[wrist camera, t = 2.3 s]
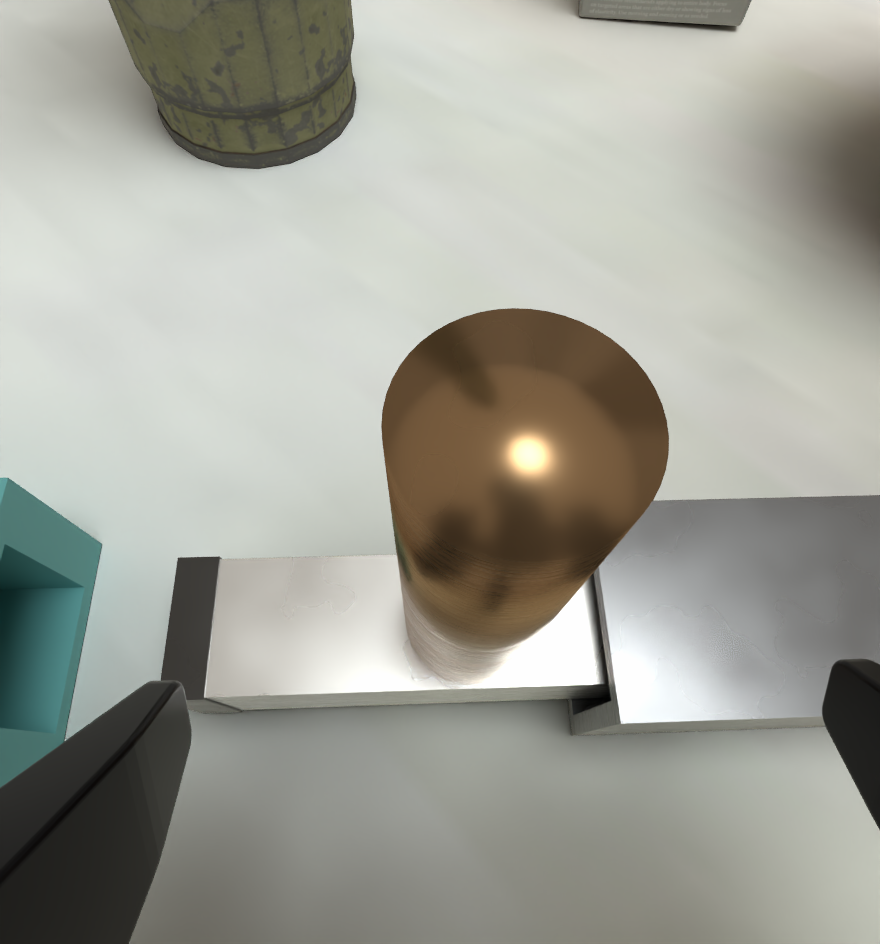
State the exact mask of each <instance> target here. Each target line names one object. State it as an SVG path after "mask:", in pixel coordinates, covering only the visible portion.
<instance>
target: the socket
mask: <svg viewBox="0 0 880 944" xmlns="http://www.w3.org/2000/svg"><path fill="white" fill-rule="evenodd" d="M101 546H102V544H101V543H100V542H98V541H97V540H95V539H94V538H93V537H91V536H90V535H88V534H87V533H85V532H84V531H83V530H81V529H80V528H78V527H77V526H76V525H74V524H73V523H71V522H70V521H69V520H67V519H66V518H64V517H63V516H61V515H60V514H59V513H57V512H56V511H54V510H53V509H52V508H50V507H49V506H47V505H46V504H44V503H43V502H42V501H40V500H39V499H37V498H36V497H35V496H33V495H32V494H30V493H29V492H27V491H26V490H25V489H23V488H22V487H20V486H19V485H18V484H16V483H15V482H13V481H12V480H10V479H9V478H0V787H2V786H3V785H4V784H6V783H7V782H9V781H10V780H11V779H13V778H14V777H16V776H17V775H18V774H20V773H21V772H23V771H24V770H25V769H27V768H28V767H30V766H31V765H32V764H34V763H35V762H37V761H38V760H39V759H41V758H42V757H44V756H45V755H46V754H48V753H49V752H51V751H52V750H53V749H55V748H56V747H58V746H59V745H60V744H62V743H63V742H64V737H65V732H66V726H67V721H68V716H69V711H70V706H71V701H72V696H73V690H74V685H75V680H76V675H77V670H78V665H79V660H80V654H81V649H82V644H83V639H84V634H85V629H86V623H87V618H88V613H89V608H90V603H91V598H92V593H93V587H94V582H95V577H96V572H97V567H98V562H99V557H100V551H101Z"/></svg>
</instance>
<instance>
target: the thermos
mask: <svg viewBox="0 0 880 944" xmlns="http://www.w3.org/2000/svg"><path fill="white" fill-rule="evenodd" d="M109 3H110V5H111V8H112V10H113V13H114V15H115V17H116V20H117V22H118V25H119V27H120V30H121V32H122V34H123V37H124V39H125V42H126V44H127V47H128V49H129V52H130V54H131V56H132V59H133V61H134V64H135V66H136V68H137V69H138V71H139V72H140V73H141V75H142V76H143V78H144V79H145V81H146V82H147V84H148V85H149V86H150V87H151V90H152V92H153V95H154V97H155V100H156V102H157V106H158V112H159V115H160V117H161V120H162V122H163V125H164V126H165V128H166V129H167V131H168V132H169V134H170V135H171V137H172V138H173V140H174V141H175V142H176V144H178V145H179V146H181V147H182V148H184V149H185V150H187V151H188V152H190V153H191V154H193V155H194V156H196V157H197V158H200V159H203V160H206V161H210V162H213V163H216V164H219V165H223V166H226V167H243V168H263V167H269V166H275V165H282V164H288V163H292V162H294V161H297V160H299V159H301V158H304V157H306V156H309V155H311V154H314V153H316V152H318V151H320V150H321V149H322V148H324V147H325V146H326V145H328V144H329V143H330V142H332V141H333V140H334V139H336V138H337V137H338V136H339V135H340V134H341V133H342V131H343V130H344V128H345V127H346V125H347V124H348V122H349V121H350V119H351V118H352V116H353V113H354V107H355V101H356V87H355V81H354V78H353V74H352V65H351V51H352V45H353V39H354V28H353V18H352V8H351V0H109Z"/></svg>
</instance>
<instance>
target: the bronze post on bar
mask: <svg viewBox="0 0 880 944" xmlns="http://www.w3.org/2000/svg"><path fill="white" fill-rule="evenodd" d="M382 440H383V449H384V457H385V465H386V473H387V481H388V489H389V497H390V504H391V512H392V520H393V528H394V536H395V544H396V552H397V555H363V556H325V557H287V558H250V559H221V558H220V557H189V558H178V561H177V568H176V575H175V582H174V590H173V597H172V604H171V611H170V618H169V625H168V632H167V639H166V646H165V653H164V660H163V668H162V675H161V681H168V680H177V681H179V682H180V683H181V684H182V686H183V688H184V691H185V697H186V702H187V708H188V709H189V710H193V711H196V712H200V713H232V712H242V710H257V709H286V708H315V707H344V706H373V705H402V704H430V703H459V702H488V701H517V700H546V699H575V698H604V697H611V695H610V688H609V681H608V673H607V666H606V659H605V652H604V644H603V637H602V630H601V623H600V616H599V608H598V601H597V594H596V587H595V579H594V571H595V570H596V569H597V568H598V567H599V566H600V564H601V563H602V562H603V561H604V560H605V558H606V557H607V556H608V555H609V554H610V553H611V551H612V550H613V549H614V548H615V547H616V545H617V544H618V543H619V542H620V541H621V540H622V538H623V537H624V536H625V535H626V534H627V532H628V531H629V530H630V529H631V528H632V527H633V525H634V524H635V523H636V522H637V521H638V520H639V518H640V517H641V516H642V515H643V513H644V512H645V511H646V509H647V508H648V507H649V505H650V504H651V502H652V501H653V499H654V497H655V495H656V493H657V491H658V489H659V488H660V485H661V482H662V479H663V476H664V473H665V470H666V465H667V459H668V451H669V435H668V428H667V420H666V417H665V413H664V410H663V406H662V403H661V401H660V399H659V396H658V394H657V392H656V390H655V388H654V386H653V384H652V383H651V381H650V379H649V378H648V376H647V374H646V373H645V372H644V371H643V369H642V368H641V367H640V366H639V364H638V363H637V362H636V361H635V360H634V359H633V358H632V357H631V356H630V355H629V354H628V353H627V352H626V351H625V350H624V349H623V348H622V347H621V346H619V345H618V344H617V343H616V342H614V341H613V340H612V339H611V338H609V337H607V336H606V335H604V334H603V333H601V332H599V331H598V330H596V329H594V328H592V327H590V326H588V325H586V324H584V323H582V322H580V321H577V320H574V319H572V318H569V317H566V316H563V315H559V314H555V313H551V312H547V311H540V310H533V309H515V308H512V309H497V310H491V311H485V312H480V313H476V314H473V315H469V316H466V317H463V318H461V319H458V320H456V321H454V322H451V323H449V324H447V325H445V326H443V327H442V328H440V329H438V330H436V331H435V332H433V333H432V334H431V335H429V336H428V337H427V338H425V339H424V340H423V341H421V342H420V343H419V344H418V345H417V346H416V347H415V348H414V349H413V350H412V351H411V352H410V353H409V355H408V356H407V357H406V358H405V360H404V361H403V362H402V364H401V365H400V366H399V368H398V370H397V372H396V373H395V375H394V377H393V379H392V381H391V384H390V386H389V389H388V391H387V394H386V398H385V402H384V406H383V413H382Z"/></svg>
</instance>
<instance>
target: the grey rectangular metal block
mask: <svg viewBox="0 0 880 944" xmlns="http://www.w3.org/2000/svg"><path fill="white" fill-rule="evenodd" d="M594 579H595V587H596V594H597V601H598V608H599V616H600V623H601V630H602V637H603V644H604V652H605V659H606V666H607V673H608V681H609V688H610V695H611V697H604V698H575V699H568V707H569V716H570V725H571V734H572V736H580V735H607V734H634V733H662V732H689V731H716V730H744V729H771V728H798V727H826V726H825V724H824V721H823V717H822V704H823V700H824V696H825V692H826V687H827V683H828V679H829V675H830V671H831V668H832V666H833V664H834V663H835V662H836V661H838V660H841V659H868V660H871V661H874V662H876V663H878V664H880V495H873V496H831V497H790V498H748V499H707V500H665V501H652V502H651V504H650V505H649V507H648V508H647V509H646V511H645V512H644V513H643V515H642V516H641V517H640V518H639V520H638V521H637V522H636V523H635V524H634V525H633V527H632V528H631V529H630V530H629V531H628V532H627V534H626V535H625V536H624V537H623V538H622V540H621V541H620V542H619V543H618V544H617V545H616V547H615V548H614V549H613V550H612V551H611V553H610V554H609V555H608V556H607V557H606V558H605V560H604V561H603V562H602V563H601V564H600V566H599V567H598V568H597V569H596V570H595V571H594Z"/></svg>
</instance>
